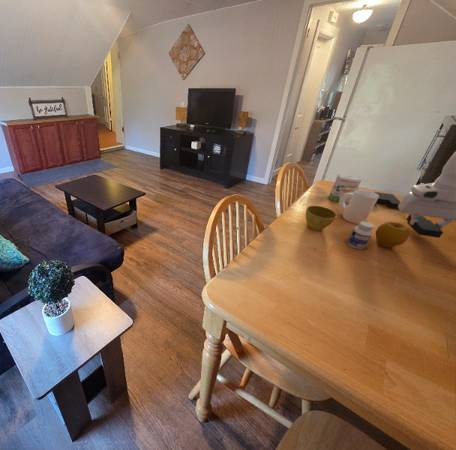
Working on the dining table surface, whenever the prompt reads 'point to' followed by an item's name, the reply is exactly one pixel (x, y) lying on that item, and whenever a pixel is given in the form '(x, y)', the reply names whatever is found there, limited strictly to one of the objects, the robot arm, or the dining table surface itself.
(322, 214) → the flower pot
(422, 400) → the dining table surface
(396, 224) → the apple
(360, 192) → the mug
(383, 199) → the big pad
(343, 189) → the ink box
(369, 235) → the pill bottle
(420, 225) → the small pad
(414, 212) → the robot arm
